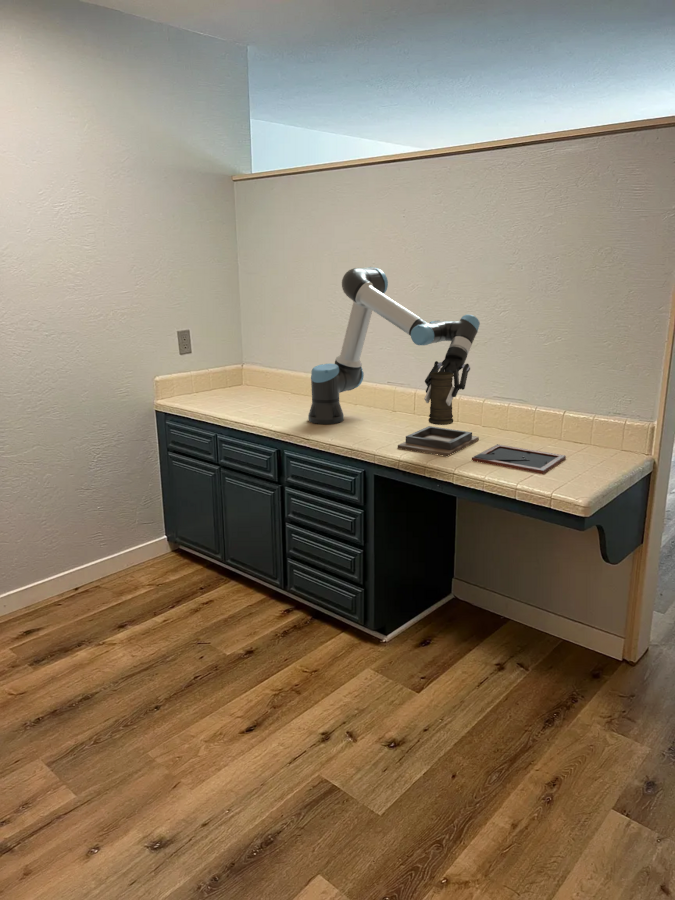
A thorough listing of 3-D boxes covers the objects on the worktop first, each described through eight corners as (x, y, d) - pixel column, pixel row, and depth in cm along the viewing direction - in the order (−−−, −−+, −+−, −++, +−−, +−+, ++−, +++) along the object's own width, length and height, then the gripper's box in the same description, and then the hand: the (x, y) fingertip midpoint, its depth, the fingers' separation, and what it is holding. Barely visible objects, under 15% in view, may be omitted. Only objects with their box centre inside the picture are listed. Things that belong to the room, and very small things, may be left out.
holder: (431, 432, 265) (431, 423, 264) (478, 439, 254) (479, 430, 253) (397, 448, 245) (397, 438, 244) (447, 456, 234) (447, 446, 233)
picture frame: (471, 462, 229) (543, 475, 214) (471, 456, 229) (543, 469, 214) (497, 448, 244) (565, 460, 229) (497, 443, 244) (565, 454, 229)
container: (452, 425, 242) (454, 375, 237) (427, 424, 244) (428, 375, 239) (453, 419, 250) (455, 371, 245) (429, 419, 252) (430, 371, 247)
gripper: (486, 359, 247) (466, 411, 239) (436, 356, 259) (415, 405, 251) (481, 347, 242) (460, 399, 233) (429, 343, 253) (408, 393, 245)
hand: (437, 402), depth 242 cm, fingers closed on container, 8 cm apart
